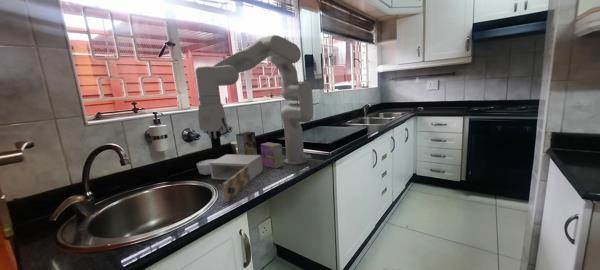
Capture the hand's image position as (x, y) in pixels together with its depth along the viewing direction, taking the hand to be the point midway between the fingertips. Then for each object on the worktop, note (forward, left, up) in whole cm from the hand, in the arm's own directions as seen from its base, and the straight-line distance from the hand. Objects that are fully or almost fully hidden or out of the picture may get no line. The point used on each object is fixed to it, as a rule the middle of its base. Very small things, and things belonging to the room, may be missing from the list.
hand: (216, 147), depth 99 cm
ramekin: (+24, -23, -20) cm, 38 cm away
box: (-6, -36, -20) cm, 41 cm away
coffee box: (+12, -44, -19) cm, 50 cm away
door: (-6, -3, -19) cm, 20 cm away
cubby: (+6, -21, -19) cm, 29 cm away
